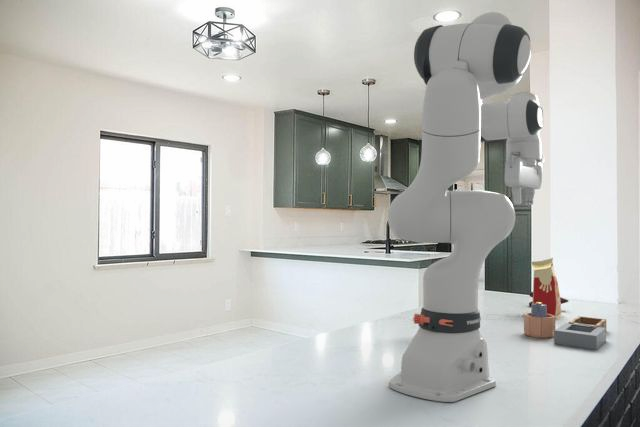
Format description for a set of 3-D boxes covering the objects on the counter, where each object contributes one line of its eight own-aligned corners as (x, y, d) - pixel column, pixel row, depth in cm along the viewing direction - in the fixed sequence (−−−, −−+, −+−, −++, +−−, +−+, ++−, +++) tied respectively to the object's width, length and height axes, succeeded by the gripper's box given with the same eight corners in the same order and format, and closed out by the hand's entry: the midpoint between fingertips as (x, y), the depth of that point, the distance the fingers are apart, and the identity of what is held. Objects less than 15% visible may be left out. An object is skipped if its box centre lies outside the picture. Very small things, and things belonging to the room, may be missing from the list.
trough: (598, 338, 136) (597, 326, 137) (568, 334, 141) (568, 322, 141) (606, 330, 146) (606, 319, 146) (578, 327, 151) (578, 316, 151)
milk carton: (561, 314, 170) (560, 257, 171) (557, 319, 163) (557, 259, 163) (532, 312, 175) (532, 256, 176) (528, 316, 168) (527, 258, 168)
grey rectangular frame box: (596, 349, 124) (596, 334, 124) (554, 343, 131) (554, 328, 131) (605, 340, 134) (605, 326, 134) (565, 335, 140) (565, 321, 140)
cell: (544, 334, 138) (544, 304, 138) (529, 332, 140) (529, 302, 141) (548, 332, 141) (548, 302, 141) (534, 330, 143) (533, 301, 144)
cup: (550, 339, 135) (550, 319, 135) (521, 335, 140) (520, 315, 140) (557, 334, 141) (557, 314, 141) (529, 330, 146) (529, 311, 146)
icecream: (573, 292, 179) (534, 291, 191) (563, 289, 175) (524, 288, 187) (573, 312, 178) (533, 309, 190) (562, 309, 174) (523, 306, 185)
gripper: (523, 148, 124) (523, 203, 124) (546, 156, 140) (546, 205, 140) (498, 151, 128) (498, 203, 128) (523, 158, 144) (523, 205, 144)
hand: (523, 204), depth 134 cm, fingers open, 8 cm apart
